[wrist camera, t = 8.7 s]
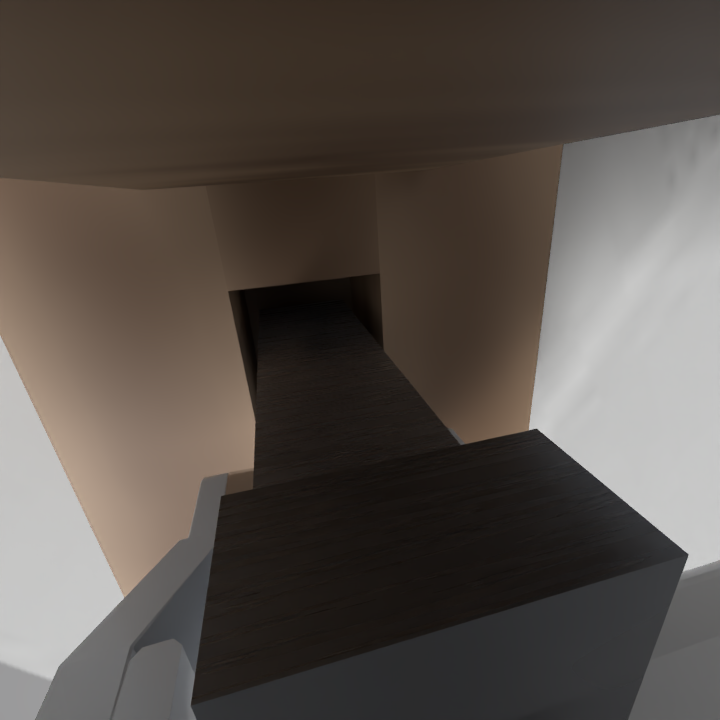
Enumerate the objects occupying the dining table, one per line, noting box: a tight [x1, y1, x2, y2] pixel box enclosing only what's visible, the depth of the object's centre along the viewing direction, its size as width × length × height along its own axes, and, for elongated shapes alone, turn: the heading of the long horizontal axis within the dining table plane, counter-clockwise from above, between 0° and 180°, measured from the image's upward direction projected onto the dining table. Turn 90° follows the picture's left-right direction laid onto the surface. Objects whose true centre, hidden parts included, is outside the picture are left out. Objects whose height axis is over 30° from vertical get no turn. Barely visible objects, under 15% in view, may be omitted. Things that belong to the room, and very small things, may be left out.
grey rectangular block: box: [191, 299, 688, 720], centre depth 8 cm, size 2×8×10 cm, turn 5°
